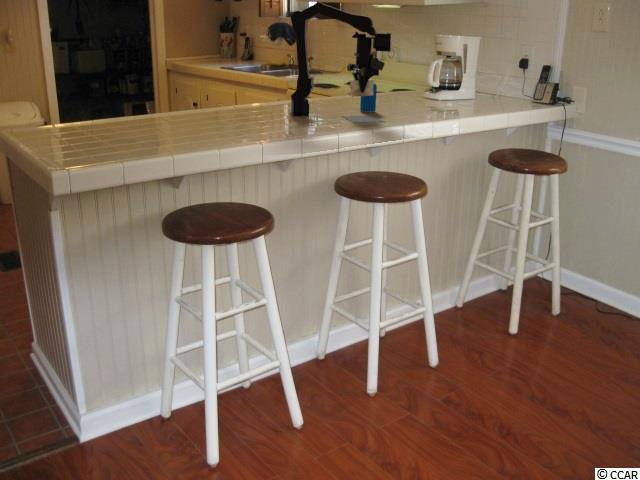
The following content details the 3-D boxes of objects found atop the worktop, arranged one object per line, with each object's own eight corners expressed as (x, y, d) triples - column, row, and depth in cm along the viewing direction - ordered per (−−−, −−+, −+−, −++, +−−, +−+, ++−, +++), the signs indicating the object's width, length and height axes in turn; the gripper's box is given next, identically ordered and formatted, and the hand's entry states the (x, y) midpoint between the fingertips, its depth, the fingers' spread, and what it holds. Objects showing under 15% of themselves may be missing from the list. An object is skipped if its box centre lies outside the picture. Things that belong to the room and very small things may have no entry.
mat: (354, 123, 241) (354, 122, 241) (341, 117, 253) (341, 116, 253) (385, 122, 245) (385, 121, 245) (371, 116, 257) (371, 115, 257)
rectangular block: (352, 96, 246) (352, 81, 244) (350, 96, 248) (350, 80, 246) (373, 95, 249) (373, 79, 247) (371, 94, 251) (371, 79, 248)
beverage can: (377, 113, 265) (379, 84, 260) (362, 113, 263) (364, 84, 259) (372, 110, 271) (373, 82, 266) (357, 110, 269) (359, 82, 265)
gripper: (393, 53, 237) (390, 95, 242) (373, 48, 253) (371, 88, 259) (365, 52, 233) (363, 95, 239) (347, 48, 250) (345, 88, 255)
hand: (361, 92), depth 248 cm, fingers closed on rectangular block, 2 cm apart
